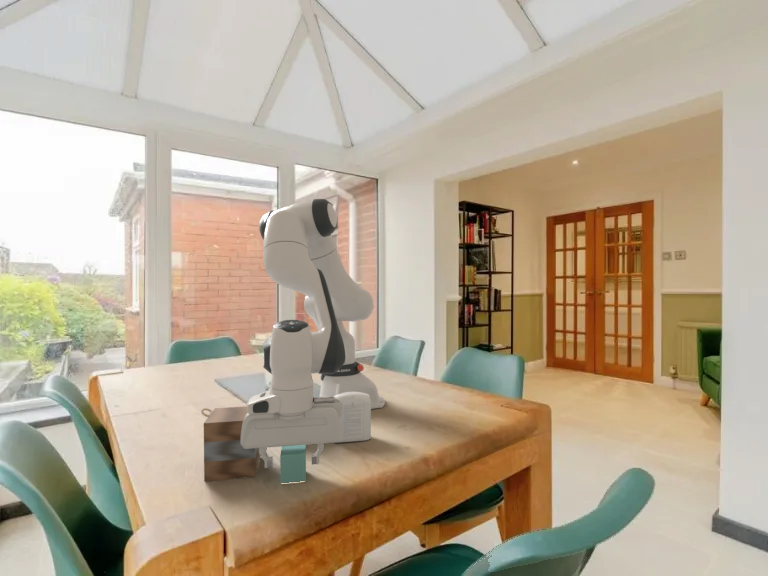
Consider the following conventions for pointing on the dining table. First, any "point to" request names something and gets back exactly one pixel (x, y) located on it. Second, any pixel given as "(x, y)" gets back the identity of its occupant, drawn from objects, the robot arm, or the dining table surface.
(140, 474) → the dining table surface
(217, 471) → the taped cardboard box
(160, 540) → the dining table surface
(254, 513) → the dining table surface
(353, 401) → the photo printer
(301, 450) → the teal brick
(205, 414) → the decorative ornament
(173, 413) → the dining table surface
